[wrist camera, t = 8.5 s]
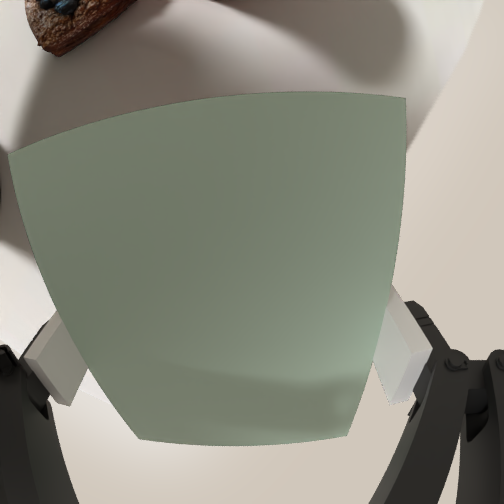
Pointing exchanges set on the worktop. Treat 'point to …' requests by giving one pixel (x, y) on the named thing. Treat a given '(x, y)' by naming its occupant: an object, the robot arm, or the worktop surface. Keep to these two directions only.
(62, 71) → the worktop surface
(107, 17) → the pastry
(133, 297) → the sheet
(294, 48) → the worktop surface
